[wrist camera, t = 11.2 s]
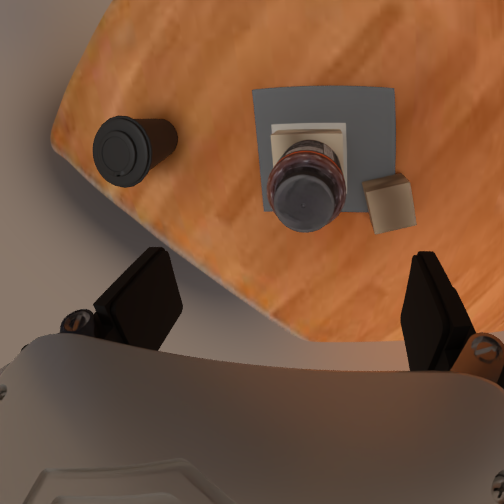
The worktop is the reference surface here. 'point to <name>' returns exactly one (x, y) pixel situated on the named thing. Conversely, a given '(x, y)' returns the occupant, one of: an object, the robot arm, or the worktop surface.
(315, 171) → the supplement bottle
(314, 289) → the worktop surface
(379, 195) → the oak block
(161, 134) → the coffee cup
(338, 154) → the maple block
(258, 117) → the slate mat
